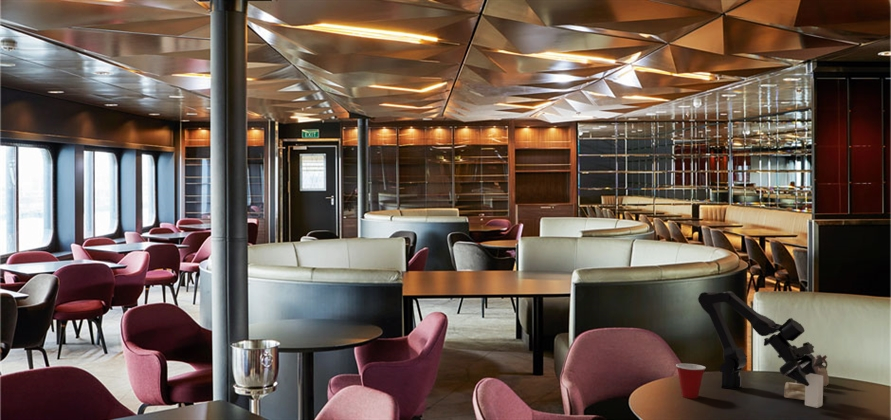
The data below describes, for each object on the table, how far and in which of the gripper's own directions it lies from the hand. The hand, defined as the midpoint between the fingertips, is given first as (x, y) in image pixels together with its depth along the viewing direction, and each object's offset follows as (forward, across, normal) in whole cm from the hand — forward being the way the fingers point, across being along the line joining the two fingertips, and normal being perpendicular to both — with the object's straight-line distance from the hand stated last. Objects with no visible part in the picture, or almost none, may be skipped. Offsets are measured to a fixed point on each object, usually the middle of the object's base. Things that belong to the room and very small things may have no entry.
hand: (813, 383), depth 279 cm
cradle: (-2, +14, +13) cm, 19 cm away
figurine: (-1, +31, +13) cm, 34 cm away
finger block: (+6, 0, +6) cm, 8 cm away
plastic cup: (-20, -24, +31) cm, 44 cm away
